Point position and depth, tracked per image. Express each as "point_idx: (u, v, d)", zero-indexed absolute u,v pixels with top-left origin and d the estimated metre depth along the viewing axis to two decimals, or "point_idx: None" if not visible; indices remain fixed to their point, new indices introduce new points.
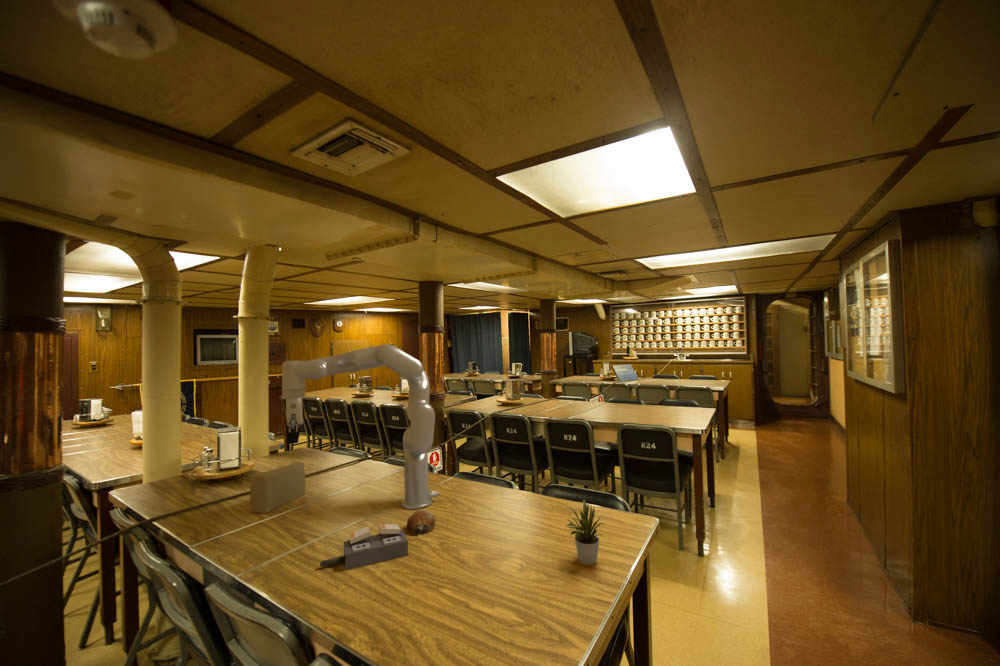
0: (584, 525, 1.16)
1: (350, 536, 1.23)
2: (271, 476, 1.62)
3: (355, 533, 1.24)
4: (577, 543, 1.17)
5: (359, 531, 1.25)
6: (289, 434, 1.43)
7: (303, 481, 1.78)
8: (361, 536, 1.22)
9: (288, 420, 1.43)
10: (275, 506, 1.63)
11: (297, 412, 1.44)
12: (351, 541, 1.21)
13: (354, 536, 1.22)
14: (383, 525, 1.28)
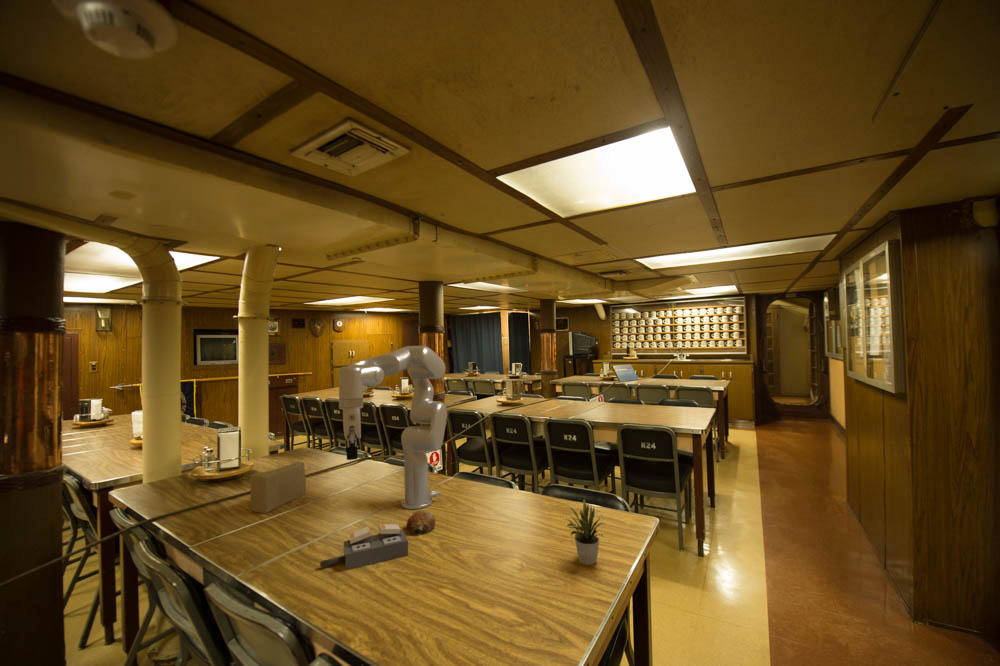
0: (584, 525, 1.16)
1: (350, 536, 1.23)
2: (271, 476, 1.62)
3: (355, 533, 1.24)
4: (577, 543, 1.17)
5: (359, 531, 1.25)
6: (347, 449, 1.27)
7: (303, 481, 1.79)
8: (361, 536, 1.22)
9: (346, 433, 1.27)
10: (275, 506, 1.64)
11: (356, 424, 1.28)
12: (351, 541, 1.21)
13: (354, 536, 1.22)
14: (383, 525, 1.28)
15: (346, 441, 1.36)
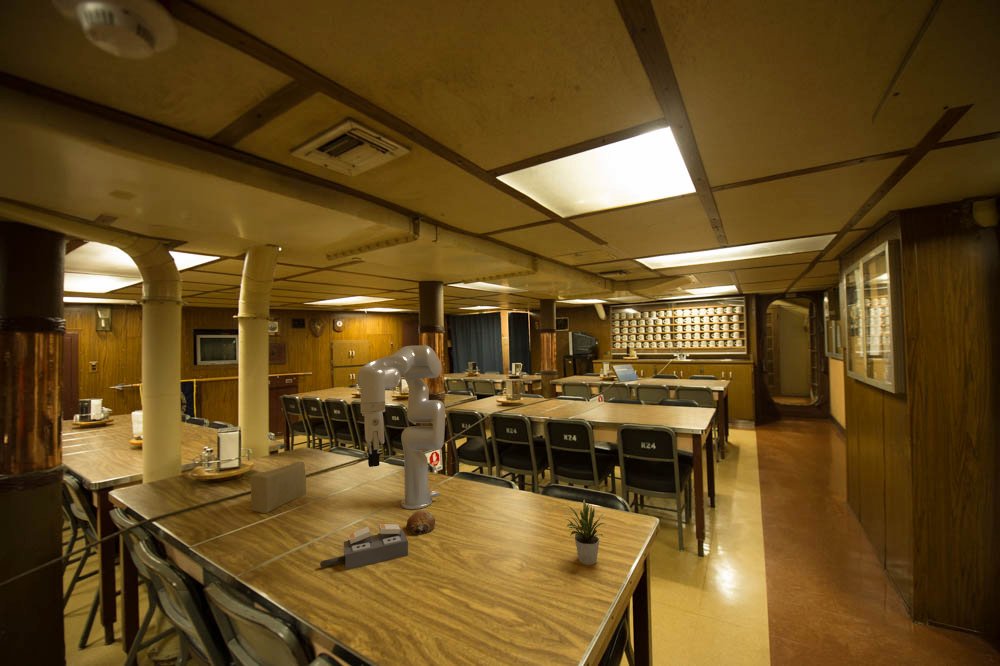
0: (584, 525, 1.16)
1: (350, 536, 1.23)
2: (272, 476, 1.62)
3: (355, 533, 1.24)
4: (577, 543, 1.17)
5: (359, 531, 1.25)
6: (370, 456, 1.25)
7: (304, 481, 1.79)
8: (361, 536, 1.22)
9: (369, 444, 1.23)
10: (276, 506, 1.64)
11: (380, 429, 1.23)
12: (351, 541, 1.21)
13: (354, 536, 1.22)
14: (383, 525, 1.28)
15: (368, 453, 1.27)
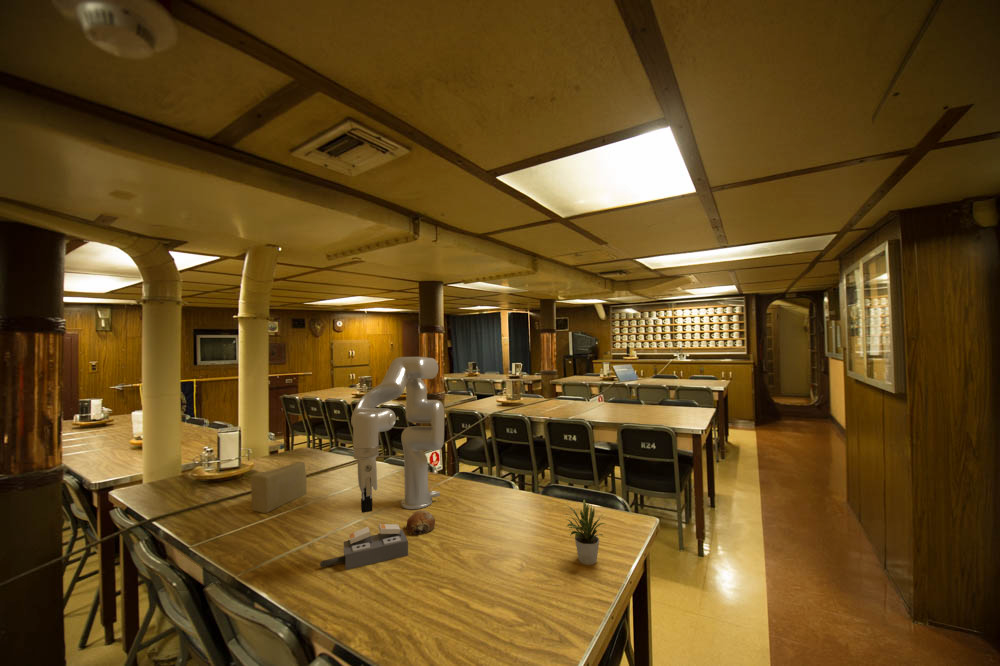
0: (584, 525, 1.16)
1: (350, 536, 1.23)
2: (272, 476, 1.62)
3: (355, 533, 1.24)
4: (577, 543, 1.17)
5: (359, 531, 1.25)
6: (362, 502, 1.24)
7: (304, 481, 1.79)
8: (361, 536, 1.22)
9: (362, 491, 1.22)
10: (276, 506, 1.64)
11: (372, 475, 1.22)
12: (351, 541, 1.21)
13: (354, 536, 1.22)
14: (383, 525, 1.28)
15: (361, 499, 1.25)
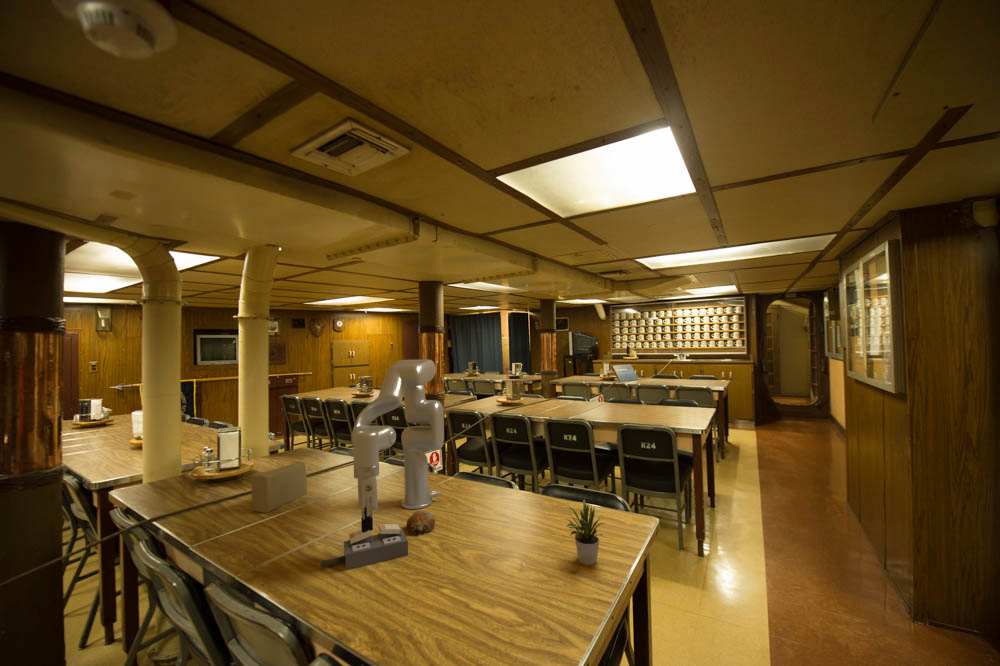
0: (584, 525, 1.16)
1: (350, 536, 1.23)
2: (272, 475, 1.62)
3: (355, 533, 1.24)
4: (577, 543, 1.17)
5: (359, 531, 1.25)
6: (363, 521, 1.24)
7: (304, 480, 1.79)
8: (361, 536, 1.22)
9: None
10: (276, 505, 1.64)
11: (373, 495, 1.21)
12: (351, 541, 1.21)
13: (354, 536, 1.22)
14: (383, 525, 1.28)
15: (362, 518, 1.25)
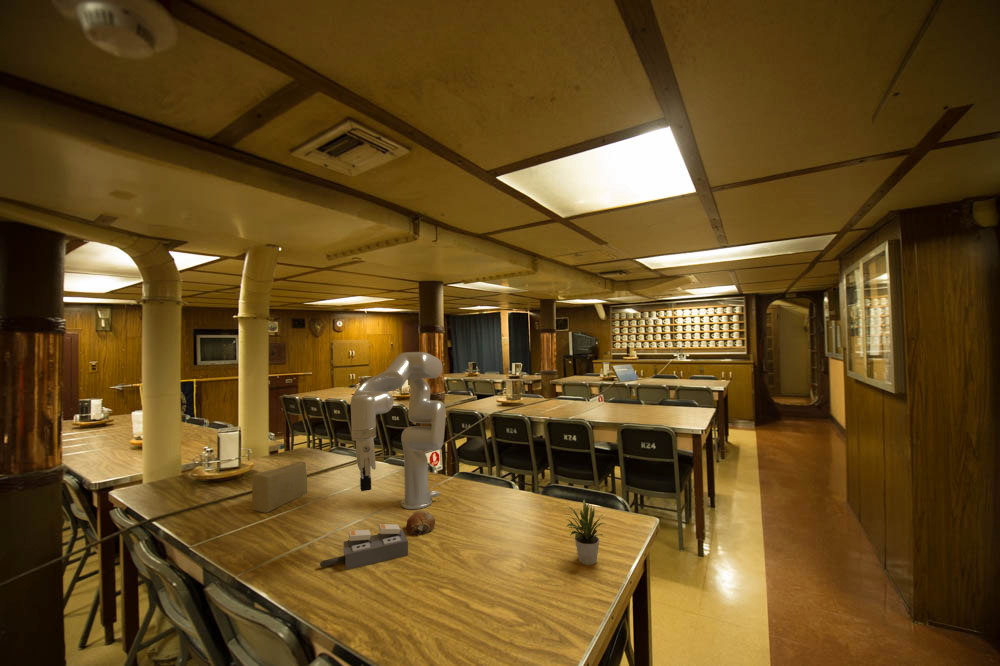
0: (584, 525, 1.16)
1: (351, 533, 1.23)
2: (273, 475, 1.63)
3: (356, 532, 1.24)
4: (577, 543, 1.17)
5: (360, 531, 1.25)
6: (361, 481, 1.29)
7: (305, 480, 1.79)
8: (361, 536, 1.22)
9: (361, 470, 1.26)
10: (277, 505, 1.64)
11: (371, 455, 1.26)
12: (351, 538, 1.21)
13: (355, 534, 1.22)
14: (383, 525, 1.28)
15: (360, 478, 1.30)
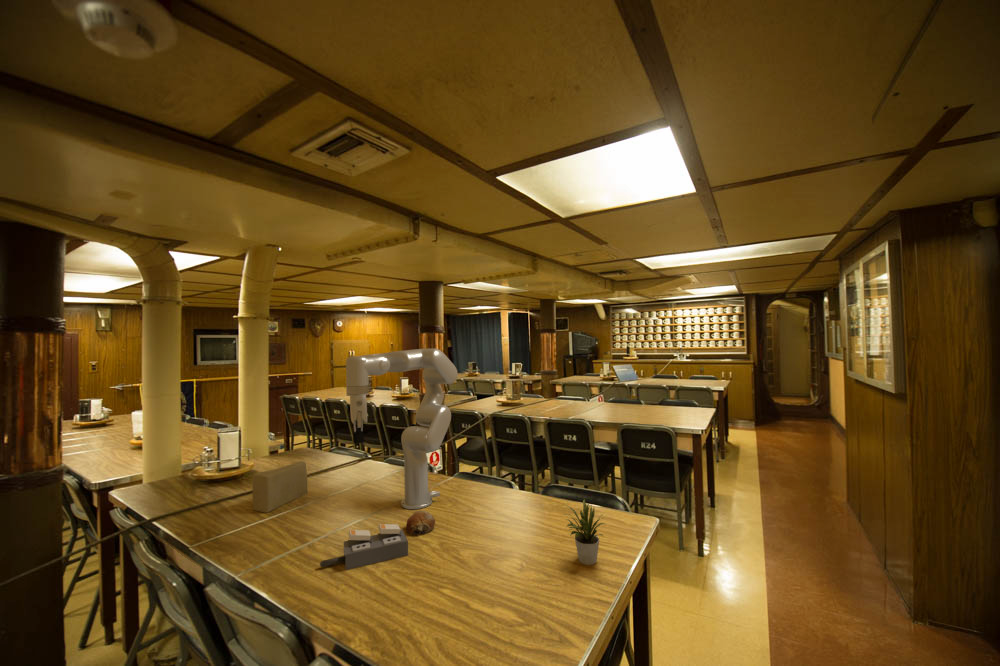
0: (584, 525, 1.16)
1: (351, 532, 1.23)
2: (273, 475, 1.63)
3: (356, 532, 1.24)
4: (577, 543, 1.17)
5: (360, 531, 1.25)
6: (354, 434, 1.41)
7: (305, 480, 1.79)
8: (361, 536, 1.22)
9: (354, 423, 1.38)
10: (277, 505, 1.64)
11: (363, 409, 1.38)
12: (351, 537, 1.21)
13: (355, 534, 1.22)
14: (383, 525, 1.28)
15: (353, 431, 1.42)
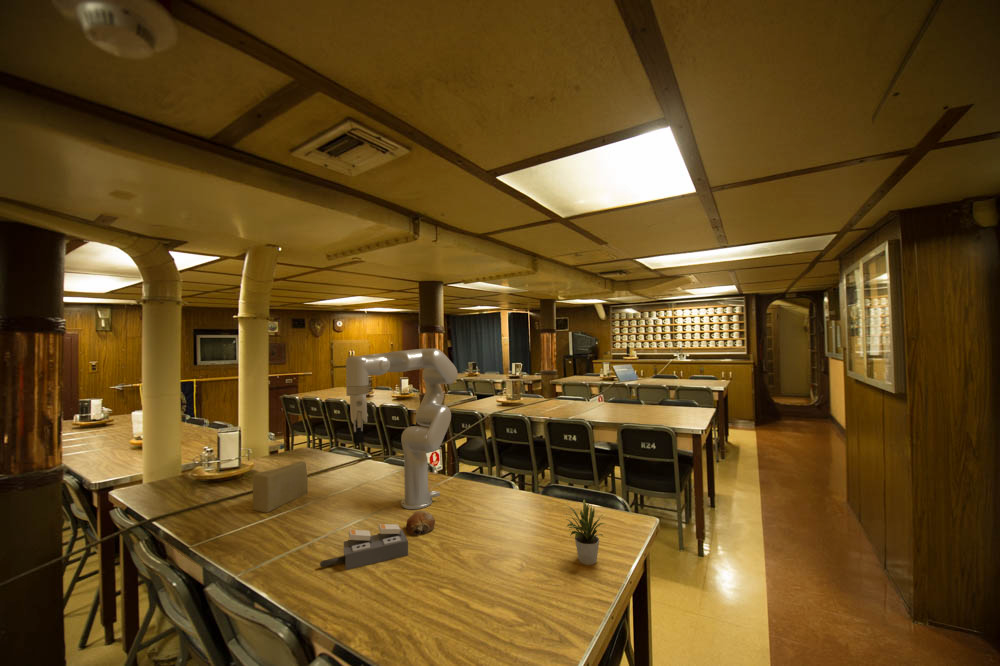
0: (584, 525, 1.16)
1: (351, 532, 1.23)
2: (273, 475, 1.63)
3: (356, 532, 1.24)
4: (577, 543, 1.17)
5: (360, 531, 1.25)
6: (354, 434, 1.41)
7: (305, 480, 1.80)
8: (361, 536, 1.22)
9: (354, 423, 1.38)
10: (277, 505, 1.65)
11: (363, 409, 1.38)
12: (351, 537, 1.21)
13: (355, 534, 1.22)
14: (383, 525, 1.28)
15: (353, 431, 1.42)
